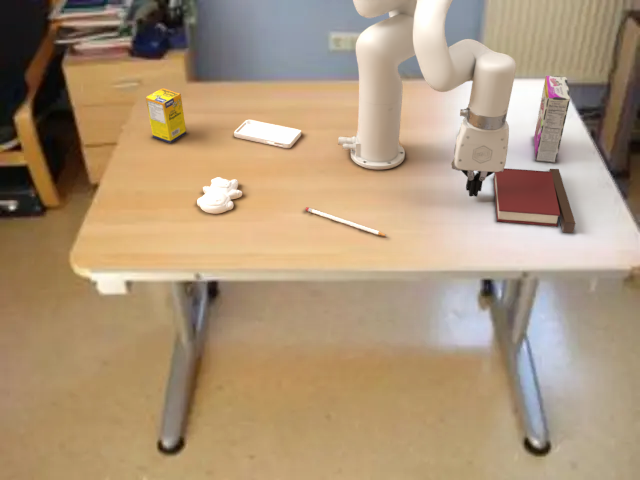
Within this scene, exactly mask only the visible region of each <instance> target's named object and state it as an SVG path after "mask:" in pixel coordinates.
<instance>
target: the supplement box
mask: <svg viewBox="0 0 640 480" xmlns="http://www.w3.org/2000/svg"><path fill="white" fill-rule="evenodd" d="M182 100H183V99H182V94H181V92H180V93H179V92H175V91H173V90H170V89H167V88H163V87H161V88H160V89H158V90H157V91H154V92H153V93H151V94H149V95H147V96H146V97H145V102H146V108H147V113H148V118H149V123H150V128H151V133H152V138H154V139H157V140H159V141H162V142H165V143H168V144H173V143H174V142H176V141H177V140H178V139H181V138H182V137H183V136H185V135H186V134H187V129H186V119H185V113H184V106H183V101H182Z"/></svg>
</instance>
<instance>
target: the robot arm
mask: <svg viewBox="0 0 640 480" xmlns="http://www.w3.org/2000/svg"><path fill="white" fill-rule="evenodd" d="M453 1H454V0H352V2H353V5H354V8H355V10H356V12H357V13H358V14H359V16H361V17H363V18H366V19H373V18H377V17H381V16H383V15H386V14H388V16H389V17H388V18H385V19H383V20H381V21H378V22H376V23H374V24H372V25H370V26H368V27H367V28H366V29H364V30H363V31H362V32H361V33H360V34H359V36H358V37H357V40H356V43H355V57H356V62H357V67H358V68H357V69H358V115H357V117H358V118H357V132H356V135H352V136H350V137H348V136H338V138H337V139H338V140H337V141H338V142H337V143H338V146H342V150H347V151H348V150H349V151H350V159H351V160H352V161H353V162H354V163H355V164H356V165H358V166H360V167H362V168H365V169H369V170H379V171H381V170H389V169H392V168H395V167H397V166H399V165H400V164H402V162H404V160H405V156H406V152H405V149H404V147H403V146H402V145H401V144H400V134H401V119H402V106H403V105H402V104H403V92H404V91H403V79H402V77H401V75H400V73H399V66H400V64H402V63H403V62H405V61H407V60H409V59H411V58H413V57H414V56H416V60H417V63H418V67H419V69H420V72H421V74H422V76H423V79H424V80H425V82H426V83H427V85H428V86H429V87H430V88H431V89H432V90H434V91H436V92H439V93H447V92H451V91H453V90H455V89H457V88H459V87H460V86H462V85H463V84H465V83H467V82H472V83H471V89H470V95H469V102H468V104H467V107H466V108H464V109H461V108H460V110H459V116H460V117H463V119H462V122H461V123H460V127H459V130H458V134H457V138H456V141H455V145H454V146H455V147H454V151H453V156H454V157H453V159H452V161H451V164H450V165H451V169H452V170H455V171H459V172H462V174H463V175H465V176H466V179H467V180H466V185H465V190H466V191H468V195H469V197H476V198H478V195H479V192H482V188H483V182H484V181H485V180H486V179H487V178H488V177H490V176H491V175H492V174H494V173H498V172H503V171H504V168H505V166H506V161H507V156H508V150H509V149H508V148H509V140H510V139H509V138H510V126H509V123H508V122H507V116H508V113H509V112H508V111H509V106H510V101H511V96H512V91H513V87H514V82H515V77H516V72H517V71H516V70H517V62H516V60H515V59H514V58H513V56H511V55H510V54H506V53H502V52H498V51H497V52H496V51H494V50H493V49H491V48H489V47H488V46H486V45H484V44H483V43H481V42H480V41H477V40H475V39H472V38H465V39H461V40H459V41H457V42H455V43H453V44H452V45H450V46H448V43H447V38H446V32H445V31H446V19H447V15H448V11H449V10H450V7H451V5H452V3H453ZM475 172H476V173H475Z"/></svg>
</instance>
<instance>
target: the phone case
mask: <svg viewBox="0 0 640 480" xmlns="http://www.w3.org/2000/svg"><path fill="white" fill-rule="evenodd" d="M233 136H234V138H237V139H243V140H247V141H251V142H255V143H260V144H265V145H270V146H274V147H280V148H284V149H291V148H292V147H293V146H294V144H295V143H296V142H297V141H298V140H299V139H300V138H301V136H302V130H301V129H298V128H293V127H289V126H284V125H279V124H274V123H269V122H265V121H264V122H263V121H259V120H254V119H245V121H243V122H242V123H241V125H239V126H238V128H236V129H235V130H234V132H233Z"/></svg>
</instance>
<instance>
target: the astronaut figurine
mask: <svg viewBox="0 0 640 480" xmlns="http://www.w3.org/2000/svg"><path fill="white" fill-rule="evenodd" d="M210 182H211V183H210V186H208V185H205V186H202V192H203V193H204V194H203V195H202V196H200V197H198V198H197V200H196V204H197V206H198V207H199V208H200V209H201V210H202V211H203V212H205V213H207V214H212V215H213V214H214V215H215V214H222V213H226V212H227V211H231V210H232V209H233V208H234V202H233V201H232V200H236V199H239V198H241V197H242V196H243V191H242V190H240V189H238V187H239V180H238V179H237V178H236V179H235V178H234V179H231V180H229V179H226V178H222V177H221V176H217V177H215V178H213V179H211V180H210Z"/></svg>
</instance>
